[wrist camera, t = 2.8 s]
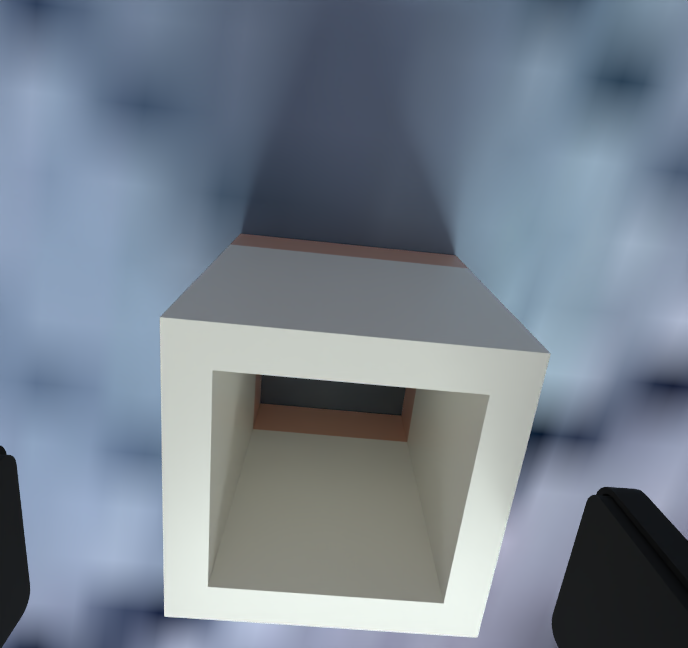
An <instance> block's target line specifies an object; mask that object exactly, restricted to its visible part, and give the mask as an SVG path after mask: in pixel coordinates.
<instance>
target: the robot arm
mask: <svg viewBox="0 0 688 648" xmlns="http://www.w3.org/2000/svg"><path fill="white" fill-rule="evenodd" d="M29 596H30V582H29V573H28V564H27V555H26V546H25V537H24V528H23V519H22V510H21V501H20V492H19V483H18V474H17V465H16V460H15V458H14V457H13V456H11V455H7V454H6V451H5V449H4V448H3V447H2V446H0V648H2V646H3V645H4V643H5V642H6V640H7V638H8V637H9V635H10V634H11V632H12V631H13V629H14V628H15V626H16V624H17V623H18V621H19V620H20V618H21V617H22V615H23V613H24V611H25V609H26V606H27V604H28V600H29ZM552 630H553V635H554V638H555V641H556V643H557V646H558V648H688V541H687V540H686V538H685V537H684V536H683V535H682V534H681V533H680V532H679V531H678V530H677V529H676V527H675V526H674V525H673V524H672V523H671V522H670V521H669V520H668V519H667V518H666V517H665V515H664V514H663V513H662V512H661V511H660V510H659V509H658V508H657V507H656V506H655V504H654V503H653V502H652V501H651V500H650V499H649V498H648V497H647V496H646V495H645V494H644V493H643V492H642V491H641V490H637V489H629V488H614V487H603V488H601V489H600V490H599V491H598V492H597V494H596V495H592V496H590V497H589V498H588V500H587V502H586V506H585V509H584V512H583V516H582V519H581V522H580V526H579V529H578V532H577V536H576V539H575V542H574V546H573V549H572V552H571V556H570V559H569V562H568V566H567V569H566V572H565V576H564V579H563V582H562V586H561V589H560V592H559V596H558V599H557V602H556V606H555V609H554V612H553V616H552Z"/></svg>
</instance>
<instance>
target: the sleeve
mask: <svg viewBox="0 0 688 648" xmlns="http://www.w3.org/2000/svg"><path fill="white" fill-rule="evenodd" d="M160 358H161V423H162V489H163V555H164V616H165V617H179V618H194V619H209V620H224V621H239V622H253V623H268V624H283V625H298V626H313V627H328V628H342V629H357V630H372V631H387V632H402V633H416V634H431V635H446V636H461V637H476V638H477V637H478V633H479V630H480V626H481V622H482V618H483V614H484V610H485V606H486V602H487V599H488V595H489V591H490V587H491V583H492V579H493V575H494V571H495V567H496V564H497V560H498V556H499V552H500V548H501V544H502V540H503V536H504V533H505V529H506V525H507V521H508V517H509V513H510V509H511V505H512V502H513V498H514V494H515V490H516V486H517V482H518V478H519V474H520V471H521V467H522V463H523V459H524V455H525V451H526V447H527V443H528V439H529V436H530V432H531V428H532V424H533V420H534V416H535V412H536V408H537V405H538V401H539V397H540V393H541V389H542V385H543V381H544V377H545V374H546V370H547V366H548V362H549V358H550V352H549V351H548V350H547V349H546V348H545V347H544V346H543V345H542V344H541V343H540V342H539V341H538V340H537V339H536V338H535V337H534V336H533V335H532V334H531V333H530V332H529V331H528V330H527V329H526V328H525V327H524V326H523V325H522V324H521V322H520V321H519V320H518V319H517V318H516V317H515V316H514V315H513V314H512V313H511V312H510V311H509V310H508V309H507V308H506V307H505V306H504V305H503V304H502V303H501V302H500V301H499V300H498V299H497V298H496V297H495V296H494V295H493V294H492V292H491V291H490V290H489V289H488V288H487V287H486V286H485V285H484V284H483V283H482V282H481V281H480V280H479V279H478V278H477V277H476V276H475V275H474V274H473V273H472V272H471V271H470V270H469V269H468V268H467V267H466V266H465V265H464V264H463V263H462V261H461V260H460V259H459V258H458V257H457V256H456V255H447V254H437V253H427V252H417V251H408V250H398V249H388V248H378V247H368V246H358V245H348V244H338V243H329V242H319V241H309V240H299V239H289V238H279V237H269V236H259V235H250V234H240V235H239V236H238V237H237V238H236V239H235V240H234V241H233V242H232V243H231V244H230V245H229V246H228V247H227V248H226V249H225V250H224V251H223V252H222V253H221V254H220V256H219V257H218V258H217V259H216V260H215V261H214V262H213V263H212V264H211V265H210V266H209V267H208V268H207V269H206V270H205V271H204V272H203V273H202V274H201V275H200V276H199V277H198V278H197V279H196V280H195V281H194V282H193V283H192V284H191V286H190V287H189V288H188V289H187V290H186V291H185V292H184V293H183V294H182V295H181V296H180V297H179V298H178V299H177V300H176V301H175V302H174V303H173V304H172V305H171V306H170V307H169V308H168V309H167V310H166V311H165V312H164V313H163V314H162V316H161V317H160ZM262 375H271V376H282V377H293V378H305V379H316V380H327V381H338V382H349V383H361V384H372V385H383V386H394V387H406V389H405V395H404V402H403V408H402V414H401V416H400V415H388V414H377V413H365V412H354V411H342V410H330V409H319V408H307V407H296V406H284V405H273V404H261V403H260V401H261V383H262Z"/></svg>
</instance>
